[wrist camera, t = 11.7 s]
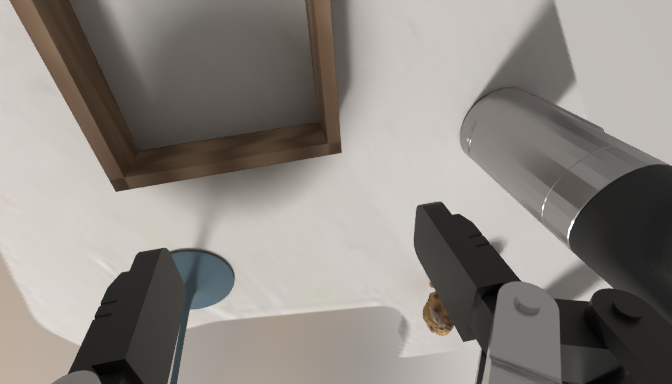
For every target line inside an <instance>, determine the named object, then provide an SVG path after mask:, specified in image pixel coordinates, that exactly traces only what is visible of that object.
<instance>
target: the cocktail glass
mask: <svg viewBox="0 0 672 384" xmlns="http://www.w3.org/2000/svg"><path fill="white" fill-rule="evenodd" d="M170 254H171V256H172V258H173V260H174V262H175V265H176V267H177V269H178V271H179V273H180V275H181V277H182V280H183V282H184V286H185V304H184V308H183V313H182V318H181V323H180V329H179V336H178V342H177V348H176V354H175V359H174V365H173V372H172V377H171V382H170V384H177V379H178V373H179V367H180V361H181V355H182V349H183V343H184V337H185V332H186V326H187V321H188V316H189V311H190V309H200V308H205V307H208V306H211V305H214V304H216V303H218V302H220V301H221V300H223V299H224V298H225V297H226V296H227V295H228V294H229V293H230V291H231V290H232V288H233V285H234V275H233V272H232V270H231V268H230V267H229V265H228V264H227V263H226V262H225V261H223V260H222V259H220V258H219V257H217V256H215V255H212V254H209V253H205V252H201V251H179V252H174V253H170Z"/></svg>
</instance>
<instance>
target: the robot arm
mask: <svg viewBox="0 0 672 384" xmlns="http://www.w3.org/2000/svg"><path fill="white" fill-rule="evenodd" d="M460 141H461V146H462V148H463V150H464V152H465V153H466V154H467V155H468V156H469V157H470V158H471V159H472V160H473V161H474V162H475V163H477V164H478V165H479V166H480V167H481V168H482V169H483V170H484V171H485V172H486V173H487V174H488V175H489V176H490V177H492V178H493V179H494V180H495V181H496V182H497V183H498V184H499V185H500V186H501V187H502V188H504V189H505V190H506V191H507V192H508V193H509V194H510V195H511V196H512V197H513V198H514V199H515V200H517V201H518V202H519V203H520V204H521V205H522V206H523V207H524V208H525V209H526V210H527V211H529V212H530V213H531V214H532V215H533V216H534V217H535V218H536V219H537V220H538V221H539V222H541V223H542V224H543V225H544V226H545V227H546V228H547V229H548V230H549V231H550V232H552V233H553V234H554V235H555V236H556V237H557V238H558V239H559V240H560V241H561V242H562V243H564V244H565V245H566V246H567V247H568V248H569V249H570V250H571V251H573V253H575V254H576V255H577V256H578V257H579V258H580V259H581V260H582V261H583V262H585V263H586V264H587V265H588V266H589V267H590V268H591V269H593V270H594V271H595V272H596V273H597V274H598V275H600V276H601V277H602V278H603V279H604V280H605V281H606V282H607V283H608V284H609V285H611V286H612V287H613V288H614V289H610V288H608V289H601V290H598V291H596V292H595V293H594V294H593V296H592V298H591V300H590V302H587V301H575V300H563V299H554V298H552V296H550V295H549V294H548V293H547V292H546V291H544V290H543V289H541V288H540V287H538V286H535V285H533V284H530V283H526V282H522V281H521V280H520V279H519V278H518V277H517V276H516V274H515V273H514V272H513V271H512V270H511V268H510V267H509V266H508V265H507V264H506V262H505V261H504V260H503V259H502V257H501V256H500V255H499V254H498V253H497V251H496V250H495V249H494V248H493V247H492V245H490V244H489V242H488V240H487V239H486V238H485V237H484V236H482V233H481V232H480V231H479V230H478V228H477V227H476V226H475V225H474V223H473V222H471V221H470V220H468V219H466V218H465V217H463V216H462V215H460V214H455V215H452V214H451V213H450V212H449V210H448V209H447V208H446V206H445V205H444V204H443V203H442V202H434V203H428V204H422V205H418V206H417V209H416V219H415V231H414V247H415V251H416V254H417V257H418V259H419V261H420V263H421V264H422V266H423V268H424V270H425V272H426V274H427V276H428V277H429V279H430V281H431V283H432V285H433V287H434V288H435V290H436V292H437V294H438V296H439V298H440V300H441V301H442V303H443V305H444V307H445V309H446V311H447V312H448V314H449V316H450V318H451V320H452V322H453V324H454V325H455V327H456V329H457V331H458V333H459V335H460V337H461V338H462V340H463V342H466V341H470V340H475V339H476V340H477V341H478V343H479V345H480V347H481V351H480V355H479V361H478V367H477V373H476V379H475V384H562V381H565V382H568V383H569V384H672V166H670V165H669V164H667V163H665V162H662V161H661V160H659V159H657V158H655V157H653V156H651V155H649V154H647V153H645V152H643V151H641V150H639V149H637V148H635V147H633V146H630V145H628V144H626V143H624V142H623V141H620V140H618V139H616V138H614V137H612V136H610V135H609V134H606V133H605V132H604V130H603V128H601V127H599V126H597V125H595V124H593V123H591V122H589V121H587V120H585V119H583V118H581V117H579V116H577V115H575V114H573V113H571V112H569V111H567V110H565V109H563V108H561V107H559V106H557V105H555V104H553V103H551V102H549V101H547V100H545V99H543V98H541V97H539V96H532V95H530V94H528V93H526V92H524V91H522V90H519V89H516V88H504V89H500V90H497V91H494V92H492V93H490V94H488V95H487V96H485V97H484V98H482V99H481V100H480V101H479V102H477V104H476V105H475V106H474V107H473V108H472V109H471V110H470V112H469V113H468V115H467V116H466V118H465V120H464V123H463V125H462V129H461V133H460ZM184 304H185V286H184V282H183V280H182V277H181V275H180V273H179V271H178V269H177V267H176V265H175V262H174V260H173V258H172V256H171V254H170V252H169V250H168V249H167V248H161V249H155V250H149V251H143V252H139V253H138V254H137V255H136V257H135V259H134V262H133V264H132V266H131V269H130V271H128V272H122V273H121V274H120V275H119V276H118V277H117V278H116V279H115V280H114V281H113V282H112V284H111V285H110V286H109V287H108V288H107V290H106V293H105V295H104V297H103V299H102V301H101V306H99V308H98V310H97V312H96V314H95V320H93V321H92V323H91V325H90V327H89V330H88V332H87V334H86V336H85V338H84V340H83V343H82V345H81V347H80V349H79V351H78V353H77V356H76V358H75V360H74V362H73V364H72V366H71V369H70V371H69V373H68V374H67V375H65V376H63V377H61V378H59V379H58V380H57V381H55V382H53V383H52V384H167V383H168V378H169V373H170V369H171V364H172V359H173V355H174V350H175V345H176V340H177V336H178V331H179V327H180V322H181V318H182V313H183V308H184Z"/></svg>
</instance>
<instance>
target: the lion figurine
mask: <svg viewBox="0 0 672 384" xmlns="http://www.w3.org/2000/svg"><path fill="white" fill-rule="evenodd" d="M430 286H431V287H433V285H432V283H430ZM423 319H424V320H425V322H426V323H427V326H428V328H429V330H431V332H432V333H434V332H435V333H436V334H439V335H441V336H444V335H447V334H448V333H449V332H450V331H451V329H452V328H453V326H454V324H453V322H452V320H451V318H450V316H449V314H448V312H447V311H446V309H445V307H444V305H443V303H442V301H441V300H440V298H439V296H438V294H437V292H436V291H435V292H432V293H430V295H429V299H428V302H427V303H426V305H425V306H424V309H423Z"/></svg>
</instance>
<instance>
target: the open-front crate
mask: <svg viewBox="0 0 672 384" xmlns="http://www.w3.org/2000/svg"><path fill="white" fill-rule="evenodd" d="M305 1H306V10H307V19H308V28H309V37H310V46H311V55H312V64H313V72H314V81H315V90H316V99H317V108H318V117H319V122H317V123H311V124H305V125H299V126H292V127H286V128H280V129H274V130H267V131H261V132H255V133H249V134H242V135H236V136H230V137H224V138H217V139H211V140H205V141H199V142H192V143H186V144H180V145H174V146H167V147H161V148H155V149H149V150H142V151H139V150H138V148H137V146H136V144H135V142H134V140H133V137H132V135H131V133H130V131H129V129H128V127H127V125H126V122H125V120H124V118H123V116H122V114H121V112H120V110H119V107H118V105H117V103H116V101H115V99H114V97H113V95H112V92H111V90H110V88H109V86H108V84H107V82H106V80H105V78H104V75H103V73H102V71H101V69H100V67H99V65H98V63H97V60H96V58H95V56H94V54H93V52H92V50H91V48H90V45H89V43H88V41H87V39H86V37H85V35H84V33H83V30H82V28H81V26H80V24H79V22H78V20H77V18H76V15H75V13H74V11H73V9H72V7H71V5H70V3H69V0H10V2H11V4H12V6H13V7H14V9H15V11H16V13H17V15H18V16H19V18H20V20H21V22H22V24H23V25H24V27H25V29H26V31H27V33H28V34H29V36H30V38H31V40H32V42H33V43H34V45H35V47H36V49H37V51H38V52H39V54H40V56H41V58H42V60H43V61H44V63H45V65H46V67H47V69H48V70H49V72H50V74H51V76H52V78H53V79H54V81H55V83H56V85H57V87H58V88H59V90H60V92H61V94H62V96H63V97H64V99H65V101H66V103H67V105H68V106H69V108H70V110H71V112H72V114H73V115H74V117H75V119H76V121H77V123H78V124H79V126H80V128H81V130H82V132H83V133H84V135H85V137H86V139H87V141H88V142H89V144H90V146H91V148H92V150H93V151H94V153H95V155H96V157H97V159H98V160H99V162H100V164H101V166H102V168H103V169H104V171H105V173H106V175H107V177H108V178H109V180H110V182H111V184H112V186H113V187H114V189H115V191H116V192H117V191H123V190H129V189H134V188H140V187H146V186H152V185H158V184H163V183H169V182H175V181H181V180H186V179H192V178H198V177H204V176H210V175H215V174H221V173H227V172H233V171H239V170H244V169H250V168H256V167H262V166H268V165H273V164H279V163H285V162H291V161H296V160H302V159H308V158H314V157H320V156H325V155H331V154H337V153H342V151H341V138H340V125H339V111H338V98H337V85H336V72H335V58H334V45H333V32H332V19H331V5H330V0H305Z"/></svg>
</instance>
